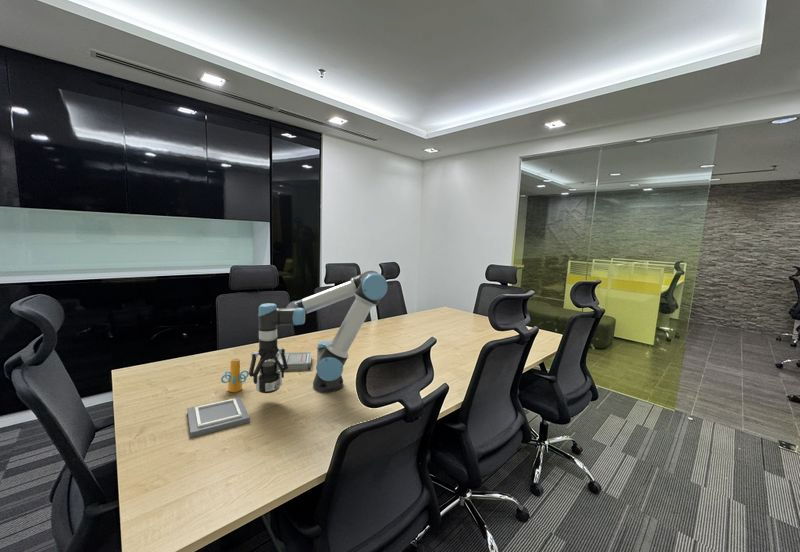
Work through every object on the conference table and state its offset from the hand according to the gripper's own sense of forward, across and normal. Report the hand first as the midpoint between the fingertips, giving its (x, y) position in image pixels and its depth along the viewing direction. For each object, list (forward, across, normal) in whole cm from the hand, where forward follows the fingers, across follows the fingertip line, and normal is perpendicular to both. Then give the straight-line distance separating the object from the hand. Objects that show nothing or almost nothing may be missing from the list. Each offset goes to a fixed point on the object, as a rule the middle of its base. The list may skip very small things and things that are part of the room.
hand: (269, 387), depth 146 cm
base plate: (+7, +21, +3) cm, 22 cm away
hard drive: (+8, -20, -40) cm, 45 cm away
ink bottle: (+1, 0, 0) cm, 1 cm away
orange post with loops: (+7, +11, -20) cm, 24 cm away
